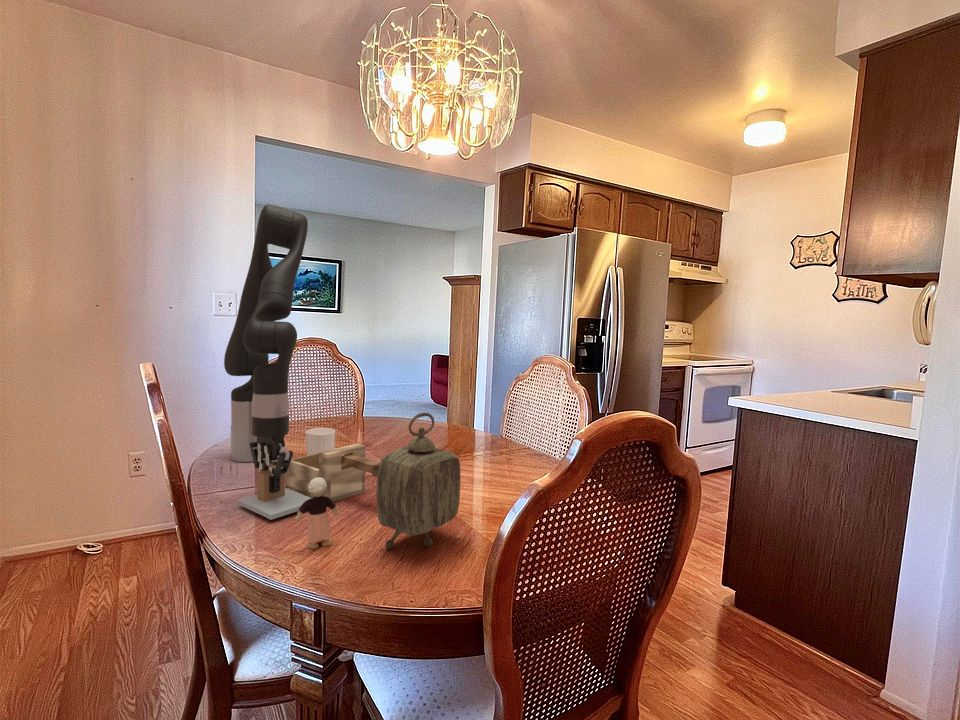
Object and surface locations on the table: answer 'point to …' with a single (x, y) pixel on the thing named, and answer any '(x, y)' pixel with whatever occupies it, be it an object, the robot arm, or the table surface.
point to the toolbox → (328, 473)
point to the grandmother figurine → (317, 514)
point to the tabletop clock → (417, 487)
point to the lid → (273, 499)
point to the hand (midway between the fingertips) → (270, 490)
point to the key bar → (361, 464)
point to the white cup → (319, 440)
